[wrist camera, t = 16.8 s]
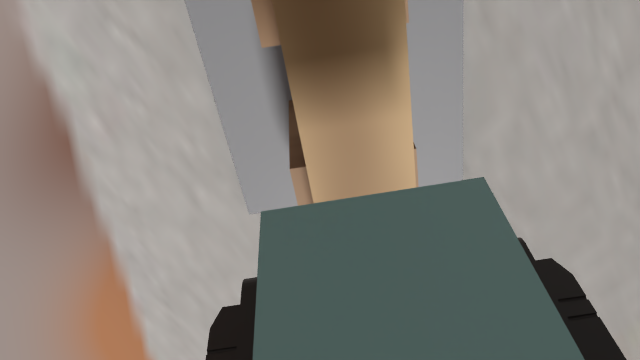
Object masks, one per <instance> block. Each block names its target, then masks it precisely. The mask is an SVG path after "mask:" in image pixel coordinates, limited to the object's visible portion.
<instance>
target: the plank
mask: <svg viewBox="0 0 640 360" xmlns="http://www.w3.org/2000/svg"><path fill="white" fill-rule="evenodd" d="M272 3H273V8H274V13H275V18H276V23H277V27H278V32H279V37H280V42H281V47H282V52H283V57H284V61H285V66H286V71H287V76H288V81H289V86H290V91H291V96H292V100H293V105H294V110H295V115H296V120H297V125H298V130H299V134H300V139H301V144H302V149H303V154H304V159H305V164H306V169H307V173H308V178H309V183H310V188H311V193H312V198H313V203H319V202H325V201H332V200H338V199H345V198H351V197H358V196H364V195H371V194H377V193H384V192H390V191H397V190H403V189H410V188H416V177H415V161H414V144H413V127H412V111H411V94H410V78H409V61H408V44H407V28H406V11H405V0H272Z"/></svg>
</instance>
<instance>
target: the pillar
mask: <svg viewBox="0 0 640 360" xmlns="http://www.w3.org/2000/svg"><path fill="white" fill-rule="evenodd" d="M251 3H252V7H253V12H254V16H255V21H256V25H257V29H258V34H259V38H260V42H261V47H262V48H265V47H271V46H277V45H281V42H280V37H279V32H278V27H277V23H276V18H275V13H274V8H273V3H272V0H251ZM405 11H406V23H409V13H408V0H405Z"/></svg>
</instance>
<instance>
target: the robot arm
mask: <svg viewBox="0 0 640 360" xmlns="http://www.w3.org/2000/svg"><path fill="white" fill-rule="evenodd" d="M518 240H519V242H520V244H521V245H522V247H523V249H524V251H525V253H526V255H527V256H528V258H529V260H530V262H531V264H532V265H533V267H534V269H535V271H536V273H537V274H538V276H539V278H540V280H541V282H542V283H543V285H544V287H545V289H546V291H547V292H548V294H549V296H550V298H551V300H552V301H553V303H554V305H555V307H556V309H557V311H558V312H559V314H560V316H561V318H562V320H563V321H564V323H565V325H566V327H567V329H568V330H569V332H570V334H571V336H572V338H573V339H574V341H575V343H576V345H577V347H578V348H579V350H580V352H581V354H582V356H583V358H584V359H585V360H626V358H625V357H624V355H623V353H622V352H621V350H620V349H619V347H618V346H617V344H616V342H615V341H614V339H613V338H612V336H611V334H610V333H609V331H608V330H607V328H606V327H605V325H604V323H603V322H602V320H601V319H600V317H598V316H597V312H596V311H595V309H594V307H593V306H592V304H591V303H590V301H589V300H587V299H586V295H585V293H584V292H583V290H582V288H581V287H580V285H579V284H578V282H577V281H576V279H575V277H574V276H573V274H571V273H570V272H569V271H567V270H566V269H565V268H564V267H562V266H561V265H560V264H558V263H557V262H556V261H554V260H553V259H552V258H549V259H542V260H536V261H535V259H534V257H533V256H532V254H531V252H530V250H529V249H528V247H527V245H526V243H525V242H524V240H523V239H522V238H518ZM256 292H257V277H255V278H249V279H244V280H243V283H242V291H241V303H240V305H234V306H228V307H222V309H221V311H220V312H219V314H218V316H217V317H216V319H215V321H214V322H213V324H212V326H211V328H210V333H209V340H208V347H207V355H206V360H253V344H254V327H255V309H256Z"/></svg>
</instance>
